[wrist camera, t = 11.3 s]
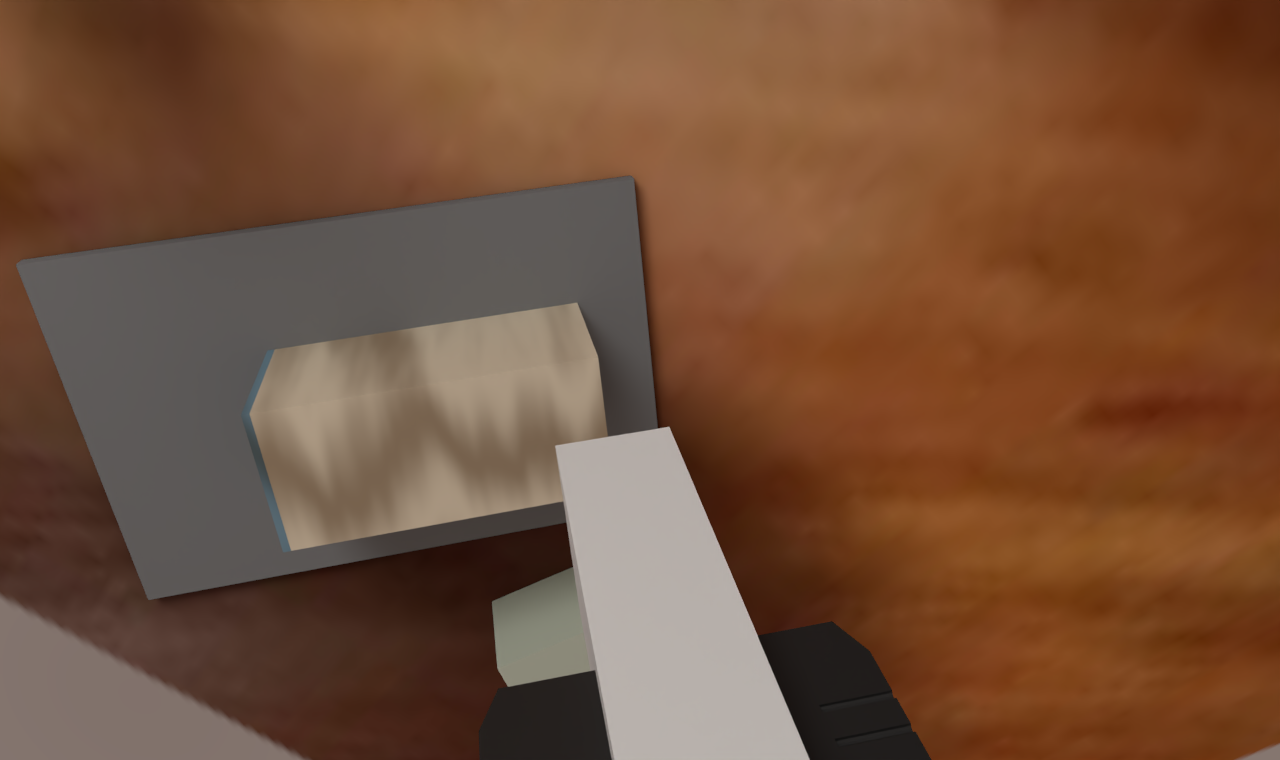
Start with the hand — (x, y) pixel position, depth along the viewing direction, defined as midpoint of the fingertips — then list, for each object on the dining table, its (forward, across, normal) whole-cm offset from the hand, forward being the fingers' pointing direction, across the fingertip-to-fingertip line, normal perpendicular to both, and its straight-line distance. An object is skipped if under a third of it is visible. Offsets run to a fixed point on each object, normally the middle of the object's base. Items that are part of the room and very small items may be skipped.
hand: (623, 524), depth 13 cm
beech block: (+25, -11, -11) cm, 29 cm away
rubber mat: (+28, -7, -11) cm, 31 cm away
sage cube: (+29, -1, -25) cm, 38 cm away
